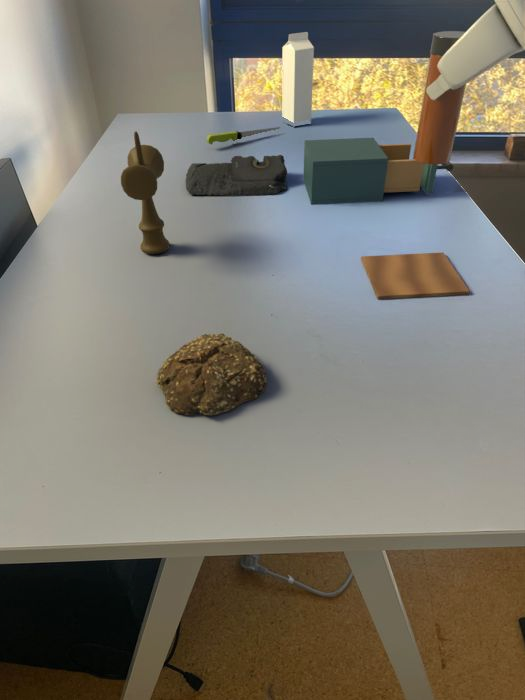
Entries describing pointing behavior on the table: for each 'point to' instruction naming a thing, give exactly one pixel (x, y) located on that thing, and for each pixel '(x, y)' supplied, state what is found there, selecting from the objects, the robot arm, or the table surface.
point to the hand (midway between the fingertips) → (440, 89)
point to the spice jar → (438, 109)
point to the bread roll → (210, 376)
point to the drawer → (408, 170)
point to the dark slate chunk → (238, 177)
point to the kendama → (146, 193)
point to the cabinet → (344, 170)
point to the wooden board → (413, 276)
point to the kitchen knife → (234, 135)
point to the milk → (297, 78)
